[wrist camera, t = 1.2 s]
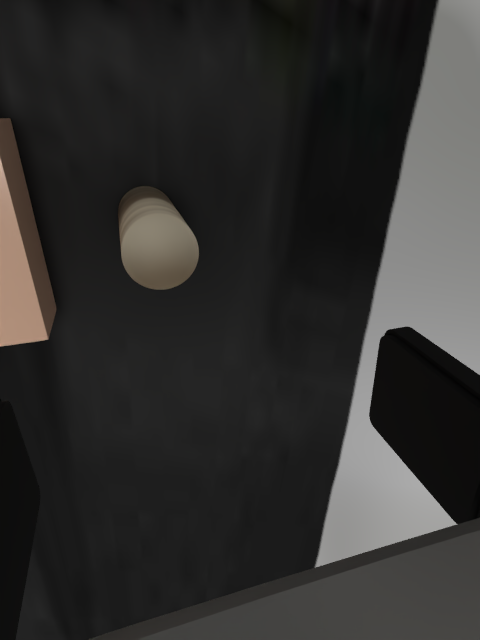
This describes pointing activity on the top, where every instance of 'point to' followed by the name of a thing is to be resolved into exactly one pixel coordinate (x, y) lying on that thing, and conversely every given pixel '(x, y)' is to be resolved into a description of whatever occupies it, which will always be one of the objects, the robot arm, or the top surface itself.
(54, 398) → the top surface
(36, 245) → the socket
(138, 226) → the peg
